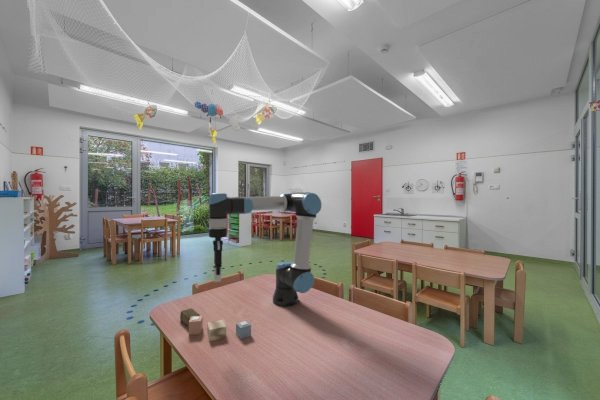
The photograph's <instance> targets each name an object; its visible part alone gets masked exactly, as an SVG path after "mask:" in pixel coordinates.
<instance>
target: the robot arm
mask: <svg viewBox="0 0 600 400" xmlns="http://www.w3.org/2000/svg"><path fill="white" fill-rule="evenodd" d="M273 210H275V211H277V210H280V211H281V212H284V211H285V212H292V213H295V215H294V216H295V217H296V219H297V223H296V233H295V242H294V253H293V260H292V261H291V260H289V261H281V262H278V263H276V266H275V289H274V293H273V296H272V303H273V304H274V305H277V306H281V307H290V306H294V305H296V304H297V303H298V302H299V296H298V293H300V294H304V293H305V294H306V293H308V292H309V291H310V290H311V289H312V287H314V283H315V277H314V274H313V273H312V272H311V271H312V266H311V265H310V255H311V253H310V252H311V245H312V236H313V235H312V232H313V224H314V220H315V219H317V214H318V213H320V211H321V210H322V200H321V198H320V197H319V195H318V194H317V193H314V192H293V193H285V194H280V195H278V196H276V195H275V196H267V195H266V196H235V197H234V196H233V197H232V196H228V194H227V193H225V192H224V193H219V192H218V193H216V192H215V193H210V194H209V201H208V213H209V217H208V219H209V220H207V223H208V225H209V226H208V227H209V229H208V237H209V238H212V239H213V238H214V240H213V241H212V245H213V251H214V253H213V254H214V257H213V259H214V260H213V264H214V265H213V266H212V268H213V269H214V270H213V271H214V272H213V281H214V283H220V282H222V266H223V262H222V256H223V255H222V254H223V253H222V252H223V245H224V243H223V240H222V238H226V237H227V235H228V233H227V232H228V230H227V227H228V215H240V214H241V215H246V214H251V213H252V212H253V211H257V212H259V211H273Z"/></svg>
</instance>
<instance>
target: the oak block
mask: <svg viewBox="0 0 600 400" xmlns="http://www.w3.org/2000/svg"><path fill="white" fill-rule="evenodd" d="M206 328H207V337H208V342H212V341H216V340H220V339H225V338H227V326H226V322H225V319H219V320H213V321H209V322H207V327H206Z"/></svg>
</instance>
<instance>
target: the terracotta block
mask: <svg viewBox="0 0 600 400" xmlns="http://www.w3.org/2000/svg"><path fill="white" fill-rule="evenodd" d="M203 319H204V317H203V315H200V316H192V317H191V318H190V320H189V327H188V336H193V335H201V333H202V331H203V325H204V324H203V323H204V322H203V321H204V320H203Z"/></svg>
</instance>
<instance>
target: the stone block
mask: <svg viewBox="0 0 600 400" xmlns="http://www.w3.org/2000/svg"><path fill="white" fill-rule="evenodd" d="M192 316H201V315H200V313H198V312H197V311H195V309H194V308H192V307H191V308H187V309H183V310H181V311H180V315H179V318H180V320H181V322H183V324H184V325H186V326H187V327H188V328H189V320H190V318H191V317H192Z"/></svg>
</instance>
